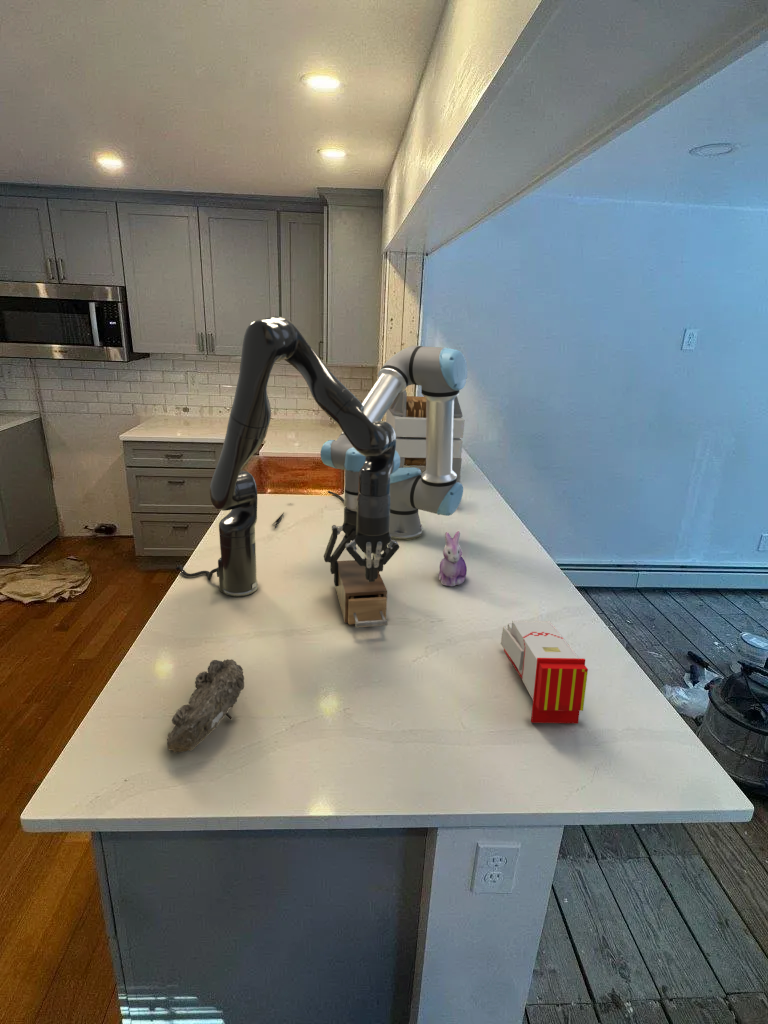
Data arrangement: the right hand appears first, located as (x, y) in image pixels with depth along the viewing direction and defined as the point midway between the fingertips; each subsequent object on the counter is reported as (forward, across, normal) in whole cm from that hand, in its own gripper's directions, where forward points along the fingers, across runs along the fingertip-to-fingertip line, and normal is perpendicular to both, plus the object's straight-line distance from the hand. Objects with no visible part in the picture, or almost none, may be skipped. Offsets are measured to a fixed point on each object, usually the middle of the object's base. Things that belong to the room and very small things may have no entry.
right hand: (356, 582), depth 156 cm
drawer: (+2, 0, -11) cm, 11 cm away
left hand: (-11, 0, -20) cm, 23 cm away
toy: (+3, +32, -44) cm, 55 cm away
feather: (+3, -18, +63) cm, 66 cm away
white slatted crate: (+3, +50, +117) cm, 128 cm away
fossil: (+3, -35, -45) cm, 57 cm away
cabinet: (+3, 0, -5) cm, 6 cm away
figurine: (+3, +29, +5) cm, 30 cm away
